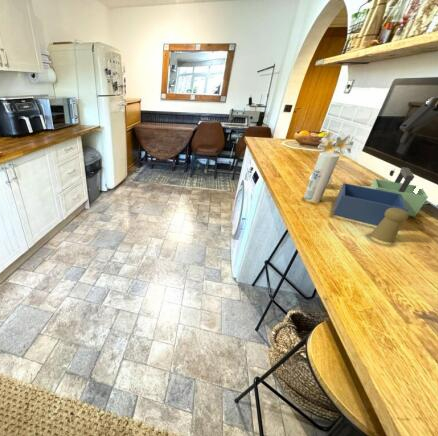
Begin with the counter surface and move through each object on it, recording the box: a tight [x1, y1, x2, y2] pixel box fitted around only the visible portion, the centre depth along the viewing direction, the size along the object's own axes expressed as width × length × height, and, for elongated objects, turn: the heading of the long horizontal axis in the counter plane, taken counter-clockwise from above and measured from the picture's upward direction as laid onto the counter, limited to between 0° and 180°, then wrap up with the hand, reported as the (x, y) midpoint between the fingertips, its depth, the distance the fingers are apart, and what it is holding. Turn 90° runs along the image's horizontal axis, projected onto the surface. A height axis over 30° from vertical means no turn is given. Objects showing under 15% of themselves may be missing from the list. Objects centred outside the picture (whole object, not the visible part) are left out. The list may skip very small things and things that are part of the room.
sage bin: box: [369, 166, 429, 218], centre depth 95 cm, size 14×12×15 cm
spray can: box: [303, 151, 340, 203], centre depth 98 cm, size 6×6×20 cm
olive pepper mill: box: [370, 208, 410, 244], centre depth 75 cm, size 6×6×11 cm
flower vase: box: [308, 131, 355, 187], centre depth 110 cm, size 13×18×25 cm
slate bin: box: [332, 182, 408, 227], centre depth 90 cm, size 18×16×9 cm
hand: (422, 154), depth 78 cm, fingers open, 13 cm apart
